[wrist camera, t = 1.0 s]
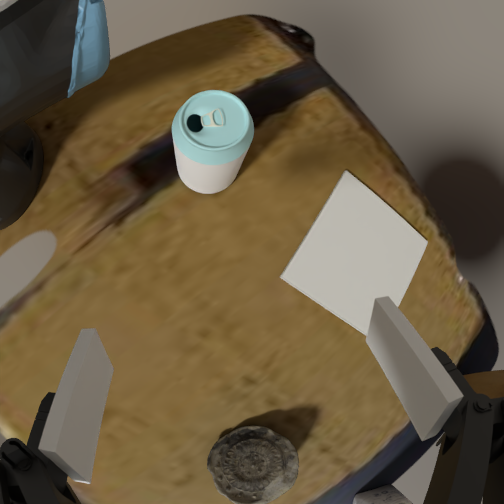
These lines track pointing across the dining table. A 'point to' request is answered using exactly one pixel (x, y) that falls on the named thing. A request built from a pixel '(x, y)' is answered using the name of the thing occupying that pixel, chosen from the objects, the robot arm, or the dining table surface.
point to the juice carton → (381, 496)
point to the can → (211, 140)
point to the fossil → (253, 465)
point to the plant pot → (487, 383)
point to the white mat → (355, 254)
